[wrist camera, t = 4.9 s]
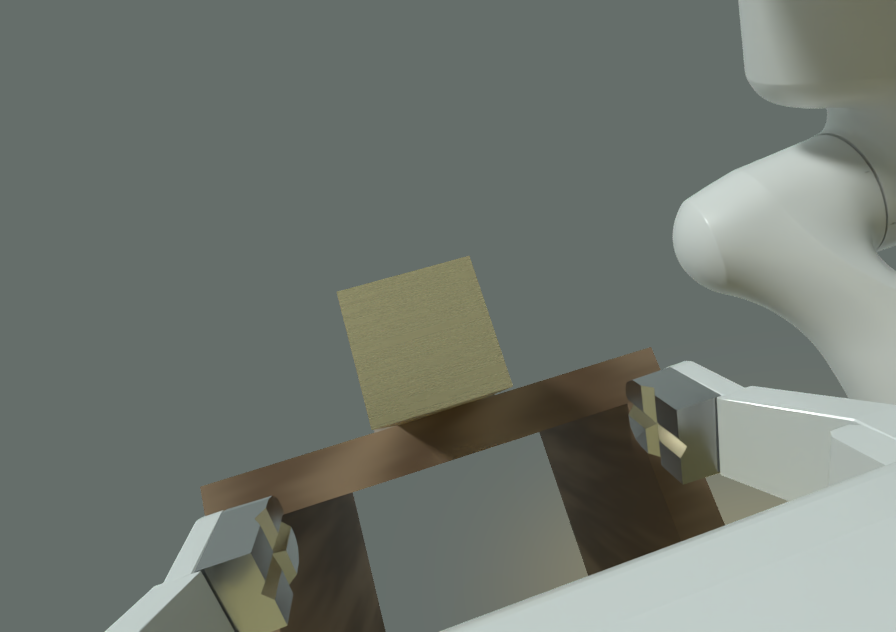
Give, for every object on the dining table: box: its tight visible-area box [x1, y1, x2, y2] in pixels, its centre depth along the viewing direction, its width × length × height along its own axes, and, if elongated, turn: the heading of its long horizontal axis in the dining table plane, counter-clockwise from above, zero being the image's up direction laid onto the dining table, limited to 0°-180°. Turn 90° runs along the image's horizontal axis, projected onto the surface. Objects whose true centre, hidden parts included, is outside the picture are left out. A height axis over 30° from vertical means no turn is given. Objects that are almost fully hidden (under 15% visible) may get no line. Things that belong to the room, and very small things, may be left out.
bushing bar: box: [337, 256, 513, 430], centre depth 21 cm, size 4×22×4 cm, turn 2°
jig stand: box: [200, 347, 725, 632], centre depth 25 cm, size 20×19×29 cm
